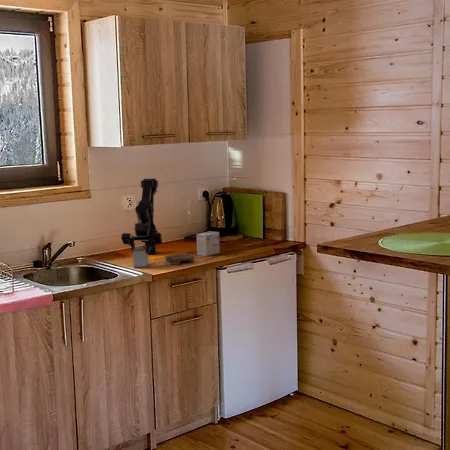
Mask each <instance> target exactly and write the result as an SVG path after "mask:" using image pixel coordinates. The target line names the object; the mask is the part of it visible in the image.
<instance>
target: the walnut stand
mask: <svg viewBox="0 0 450 450" xmlns="http://www.w3.org/2000/svg"><path fill="white" fill-rule="evenodd" d="M164 258H165V262H166V263H169V264H172V265H174V266H180V265H181V261H184V262H187V263H190V264H192V263H195V255H191V254H188V253H184V252H181V253H175V254H169V255H165V257H164Z"/></svg>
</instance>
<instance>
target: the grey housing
mask: <svg viewBox="0 0 450 450" xmlns="http://www.w3.org/2000/svg"><path fill="white" fill-rule="evenodd" d="M146 251H147V247H145V246H135V248H134V249H133V252H132V257H133V258H132V259H133V269H147V268H148V267H149V266H150V265H149V263H150V262H149V261H150V260H149V254H147V253H146Z"/></svg>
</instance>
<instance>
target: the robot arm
mask: <svg viewBox="0 0 450 450" xmlns="http://www.w3.org/2000/svg"><path fill="white" fill-rule="evenodd" d="M140 188H142V191H141V192H142V193H141V199H140V201H138V205H136V206H135V208H134V209H135V210H134V211H135V215H136V219H137V222H136V223H134V234H135V235H133V234H131V232H126V233H125V232H124V233H122V234H121V237H120V239H121V242H122V244H124V245H128V246H129V247H131V251H132V253H133V249H134V248H135V247H136V244H135V241H137V242H139V241H140V242H141V243H144V247H147V251H146V253H147V254H148V255H157V254H158V250H157V245H161V244H163V235H162V233H161V232H159V231H158V230H157V226H156V224H155V223H154V222H155V221H154V217H155V215H154V212H155V208H154V207H155V206H154V204H155V201H154V200H155V195H156V194H157V192H158V188H159V180H157V179H156V178H143V179H142V180H140Z"/></svg>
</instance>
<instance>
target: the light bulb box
mask: <svg viewBox="0 0 450 450" xmlns="http://www.w3.org/2000/svg"><path fill="white" fill-rule="evenodd" d="M220 252H221V251H220V231H211V230H209V231H206V232H202V233H196V255H197V256H203V257H208V256H212V255H216V254H220Z"/></svg>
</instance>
